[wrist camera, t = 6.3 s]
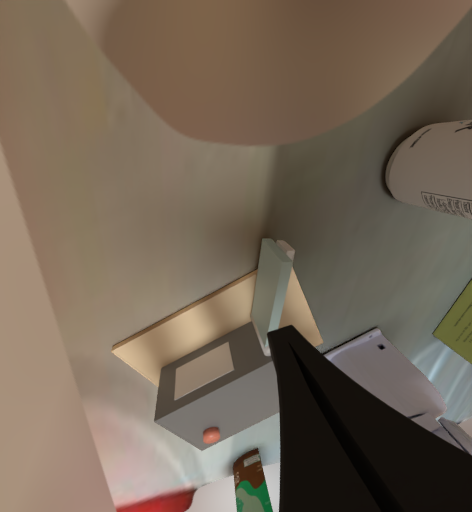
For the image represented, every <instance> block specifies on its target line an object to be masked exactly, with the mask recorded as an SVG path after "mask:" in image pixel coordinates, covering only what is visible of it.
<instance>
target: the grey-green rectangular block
mask: <svg viewBox="0 0 472 512" xmlns="http://www.w3.org/2000/svg"><path fill="white" fill-rule="evenodd" d="M294 253H295V250H294V249H293V248H292V247H291V246H290V245H288V244H287V243H286V242H285V241H284V240H277V242H276V243H275V242H274V241H273V240H272V239H262V245H261V252H260V258H259V265H258V272H257V279H256V286H255V293H254V299H253V306H252V313H251V315H250V317H251V320H252V323H253V325H254V328H255V331H256V334H257V336H258V339H259V342H260V344H261V347H262V350H263V352H264V355H265V356H271V353H270V349H269V344H268V339H267V333H268V332H270V331H273V330H276V329H278V327H279V322H280V318H281V314H282V309H283V305H284V300H285V296H286V292H287V287H288V283H289V278H290V274H291V270H292V265H293V258H294Z"/></svg>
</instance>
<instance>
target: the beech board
mask: <svg viewBox="0 0 472 512" xmlns="http://www.w3.org/2000/svg"><path fill="white" fill-rule="evenodd" d="M257 272H258V269H257V270H255V271H253V272H251V273H249V274H247V275H246V276H244V277H242V278H240V279H238V280H236V281H234V282H232V283H231V284H229V285H227V286H225V287H223V288H221V289H219V290H218V291H216V292H214V293H212V294H210V295H208V296H206V297H204V298H203V299H201V300H199V301H197V302H195V303H193V304H191V305H189V306H188V307H186V308H184V309H182V310H180V311H178V312H176V313H174V314H173V315H171V316H169V317H167V318H165V319H163V320H161V321H159V322H158V323H156V324H154V325H152V326H150V327H148V328H146V329H144V330H143V331H141V332H139V333H137V334H135V335H133V336H131V337H130V338H128V339H126V340H124V341H122V342H120V343H118V344H116V345H115V346H113V347H112V350H111V352H112V353H114V354H115V355H116V356H118V357H119V358H120V359H122V360H123V361H124V362H126V363H127V364H128V365H130V366H131V367H132V368H134V369H135V370H136V371H138V372H139V373H140V374H142V375H143V376H144V377H146V378H147V379H148V380H150V381H151V382H152V383H154V384H155V385H156V386H158V387H159V379H160V372H161V368H162V367H164V366H166V365H168V364H170V363H172V362H174V361H176V360H178V359H180V358H182V357H184V356H185V355H187V354H189V353H191V352H193V351H195V350H197V349H199V348H201V347H203V346H205V345H206V344H208V343H210V342H212V341H214V340H216V339H218V338H220V337H222V336H224V335H226V334H227V333H229V332H231V331H233V330H235V329H237V328H239V327H241V326H243V325H245V324H247V323H248V322H250V321H252V320H251V317H250V315H251V313H252V306H253V299H254V293H255V286H256V279H257ZM289 325H293V326H294V327H295V328H296V329H297V330H298V331H299V332H300V333H301V334H302V335H303V336H304V337H305V338H306V339H307V340H308V341H309V342H310V343H311V344H312V345H313V346H314V347H316V346H318V345H320V344H322V343H323V340H322V338H321V335H320V333H319V330H318V328H317V326H316V323H315V321H314V318H313V316H312V313H311V311H310V309H309V306H308V304H307V301H306V299H305V296H304V294H303V292H302V289H301V287H300V284H299V282H298V279H297V277H296V275H295V272H294V270H293V267H292V270H291V274H290V278H289V283H288V287H287V292H286V296H285V300H284V305H283V309H282V314H281V318H280V322H279V327H278V329H279V328H282V327H285V326H289Z"/></svg>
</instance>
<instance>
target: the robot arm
mask: <svg viewBox="0 0 472 512" xmlns="http://www.w3.org/2000/svg"><path fill="white" fill-rule="evenodd" d="M267 339H268V344H269V349H270V353H271V358H272V361H273V364H274V367H275V371H276V375H277V385H278V396H279V411H280V503H279V512H472V438H471V437H470V436H469V435H468V434H467V433H466V432H465V431H464V430H463V429H462V428H461V427H460V426H458V425H457V424H456V423H455V422H453V421H450V420H446V419H445V418H443V417H442V418H440V419H439V420H438V421H439V422H440V424H441V425H442V426H443V427H444V428H445V429H446V430H445V429H444V428H443V427H442V426H441V425H440V424H439V423H438V422H437V421H436V420H435V418H437V417H438V416H440V415H442V414H444V413H445V412H446V410H447V408H446V404H445V402H444V400H443V398H442V396H441V395H440V393H439V392H438V391H437V389H436V388H435V387H434V386H433V384H432V383H431V382H430V381H429V380H428V378H427V377H426V376H425V375H424V374H423V373H422V372H421V371H420V370H419V369H418V368H417V367H416V366H414V365H413V364H412V363H411V362H410V361H409V360H408V359H407V358H406V357H405V356H404V355H403V354H402V353H401V352H400V351H399V350H398V349H397V348H396V347H395V346H393V345H392V344H391V343H390V342H389V341H388V340H387V339H386V338H385V337H384V336H383V335H382V334H381V330H379V329H378V328H376V329H374V330H372V331H370V332H368V333H366V334H364V335H362V336H360V337H358V338H356V339H354V340H352V341H350V342H348V343H346V344H344V345H342V346H340V347H338V348H336V349H334V350H332V351H330V352H328V353H326V354H324V355H323V354H322V353H320V352H319V351H318V350H317V349H316V348H315V347H314V346H313V345H312V344H311V343H310V342H309V341H308V340H307V339H306V338H305V337H304V336H303V335H302V334H301V333H300V332H299V331H298V330H297V329H296V328H295V327H294V326H293V325H289V326H285V327H282V328H279V329H276V330H273V331H270V332H268V333H267ZM446 431H447V432H448V433H449V434H448V433H447V432H446Z"/></svg>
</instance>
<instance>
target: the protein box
mask: <svg viewBox="0 0 472 512" xmlns="http://www.w3.org/2000/svg"><path fill="white" fill-rule="evenodd" d="M433 335H434V336H435V337H436V338H438V339H439V340H440V341H442V342H443V343H444V344H446V345H447V346H448V347H450V348H451V349H452V350H454V351H455V352H456V353H457V354H459V355H460V356H462V357H463V358H464V359H465V360H467V361H468V362H470V363H471V364H472V280H471V281H470V283H469V284H468V285H467V287H466V288H465V290H464V291H463V292H462V294H461V295H460V296H459V298H458V299H457V301H456V302H455V303H454V305H453V306H452V308H451V309H450V310H449V312H448V313H447V315H446V316H445V317H444V319H443V320H442V322H441V323H440V324H439V326H438V327H437V329H436V330H435V331H434V333H433Z"/></svg>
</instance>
